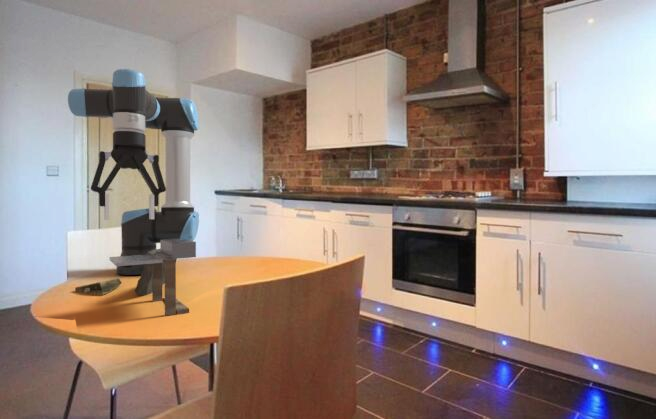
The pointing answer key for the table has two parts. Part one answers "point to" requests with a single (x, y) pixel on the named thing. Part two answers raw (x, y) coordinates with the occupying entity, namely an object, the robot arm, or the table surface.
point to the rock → (99, 287)
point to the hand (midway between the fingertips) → (129, 219)
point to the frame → (167, 287)
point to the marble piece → (148, 278)
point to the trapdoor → (160, 253)
